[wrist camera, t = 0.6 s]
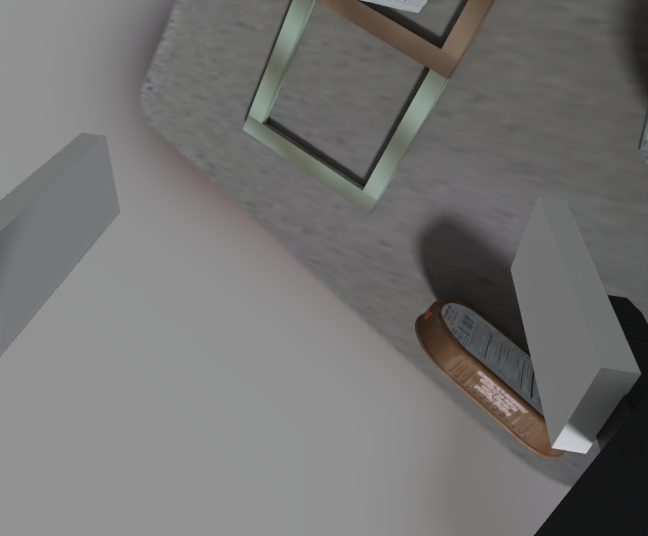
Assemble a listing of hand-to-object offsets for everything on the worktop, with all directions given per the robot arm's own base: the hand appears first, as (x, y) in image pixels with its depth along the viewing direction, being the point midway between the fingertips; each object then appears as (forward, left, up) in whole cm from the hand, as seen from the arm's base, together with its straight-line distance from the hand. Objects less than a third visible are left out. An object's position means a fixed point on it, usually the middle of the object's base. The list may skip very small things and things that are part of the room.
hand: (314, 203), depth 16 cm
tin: (+15, +13, -28) cm, 34 cm away
